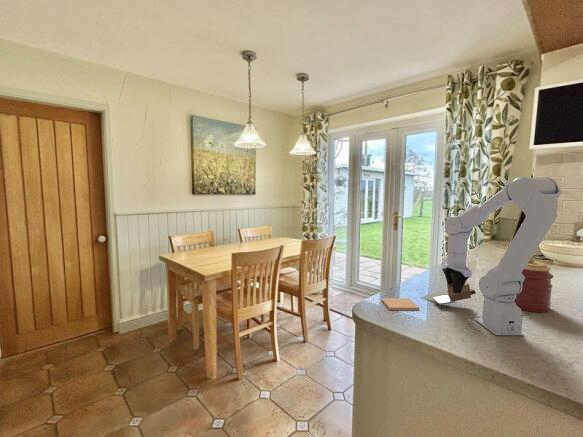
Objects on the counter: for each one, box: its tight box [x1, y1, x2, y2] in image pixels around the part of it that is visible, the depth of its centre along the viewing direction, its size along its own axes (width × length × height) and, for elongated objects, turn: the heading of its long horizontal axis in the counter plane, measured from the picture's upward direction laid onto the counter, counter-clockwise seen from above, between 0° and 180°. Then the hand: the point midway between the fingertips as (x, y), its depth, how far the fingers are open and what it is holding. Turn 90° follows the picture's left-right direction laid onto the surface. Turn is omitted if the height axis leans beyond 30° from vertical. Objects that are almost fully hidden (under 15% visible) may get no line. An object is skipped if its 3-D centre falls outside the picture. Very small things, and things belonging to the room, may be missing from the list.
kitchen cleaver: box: [420, 288, 476, 305], centre depth 110 cm, size 24×1×10 cm
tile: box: [381, 297, 420, 311], centre depth 100 cm, size 8×1×10 cm
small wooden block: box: [433, 281, 472, 306], centre depth 99 cm, size 5×11×5 cm, turn 89°
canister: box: [515, 256, 554, 313], centre depth 100 cm, size 13×13×18 cm
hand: (454, 290), depth 99 cm, fingers closed on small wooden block, 3 cm apart
